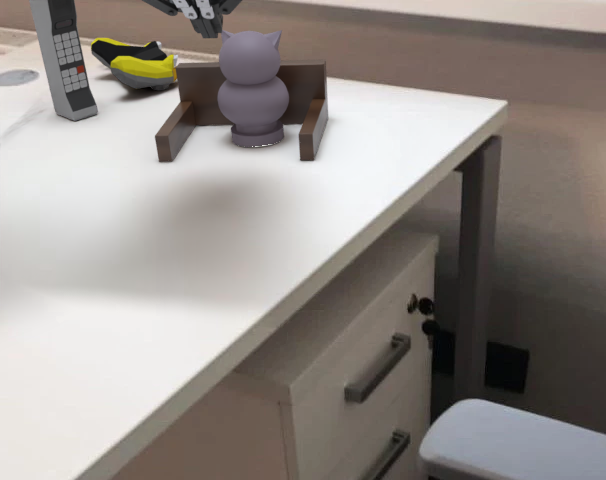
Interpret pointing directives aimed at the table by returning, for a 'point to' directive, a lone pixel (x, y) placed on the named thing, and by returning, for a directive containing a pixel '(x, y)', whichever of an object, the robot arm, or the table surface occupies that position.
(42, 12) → the vintage mobile phone
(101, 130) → the table surface
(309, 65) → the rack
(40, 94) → the table surface
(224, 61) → the cat figurine
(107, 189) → the table surface
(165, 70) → the black and yellow sneaker
